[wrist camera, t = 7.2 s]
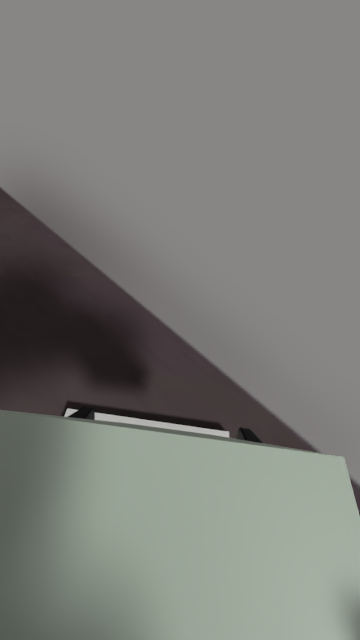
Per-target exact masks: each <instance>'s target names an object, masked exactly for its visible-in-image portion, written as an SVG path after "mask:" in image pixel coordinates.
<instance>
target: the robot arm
mask: <svg viewBox="0 0 360 640" xmlns="http://www.w3.org/2000/svg"><path fill="white" fill-rule="evenodd" d="M68 417H71V418H81V419H91V420H95V411H94V408H91V407H83V408H81V409H79V410H78V411H76V412H75V413H73V414H71V415H70V416H68ZM236 439H240V440H246V441H252V442H258V443H263V442H262V441H261V440H260V439H259V438H258V437H257V436H256V435H255V434H254V433H253V432H252V431H251V430H250V429H249V428H242V427H241V428H239V430H238V434H237V438H236Z"/></svg>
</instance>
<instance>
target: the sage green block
mask: <svg viewBox="0 0 360 640" xmlns="http://www.w3.org/2000/svg"><path fill="white" fill-rule="evenodd" d="M0 640H360V516H359V512H358V508H357V504H356V501H355V497H354V493H353V489H352V486H351V482H350V478H349V474H348V471H347V467H346V463H345V460H344V457H341V456H335V455H329V454H323V453H317V452H311V451H305V450H299V449H293V448H287V447H282V446H276V445H270V444H264V443H258V442H252V441H246V440H240V439H234V438H228V437H222V436H216V435H210V434H202V433H195V432H187V431H180V430H172V429H165V428H158V427H150V426H143V425H135V424H128V423H120V422H110V421H100V420H91V419H81V418H71V417H62V416H52V415H43V414H33V413H23V412H14V411H4V410H0Z"/></svg>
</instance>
